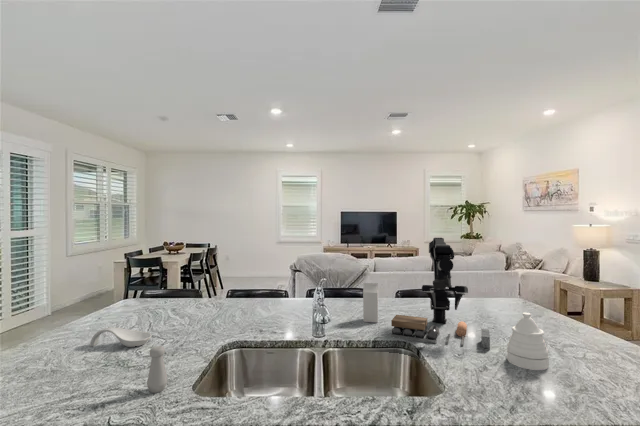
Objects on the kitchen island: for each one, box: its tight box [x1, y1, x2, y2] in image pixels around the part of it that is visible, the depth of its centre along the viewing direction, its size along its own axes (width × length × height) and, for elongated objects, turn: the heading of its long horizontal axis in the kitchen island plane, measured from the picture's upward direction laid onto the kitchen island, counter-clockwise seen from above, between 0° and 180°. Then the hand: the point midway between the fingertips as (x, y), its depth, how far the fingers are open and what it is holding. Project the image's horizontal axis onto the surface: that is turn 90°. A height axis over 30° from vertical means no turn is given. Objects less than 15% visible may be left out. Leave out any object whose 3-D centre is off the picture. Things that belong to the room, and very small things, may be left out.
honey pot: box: [506, 312, 550, 371], centre depth 125 cm, size 13×13×18 cm
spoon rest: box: [89, 326, 153, 348], centre depth 145 cm, size 24×12×7 cm, turn 92°
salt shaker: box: [146, 345, 168, 394], centre depth 106 cm, size 6×6×13 cm
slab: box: [390, 314, 428, 330], centre depth 154 cm, size 10×14×2 cm
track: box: [390, 325, 465, 347], centre depth 151 cm, size 12×29×4 cm, turn 65°
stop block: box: [480, 328, 491, 351], centre depth 141 cm, size 10×3×5 cm, turn 155°
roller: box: [455, 321, 468, 338], centre depth 156 cm, size 10×4×4 cm, turn 155°
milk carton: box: [362, 282, 379, 324], centre depth 176 cm, size 7×7×19 cm
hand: (445, 309), depth 151 cm, fingers open, 9 cm apart
